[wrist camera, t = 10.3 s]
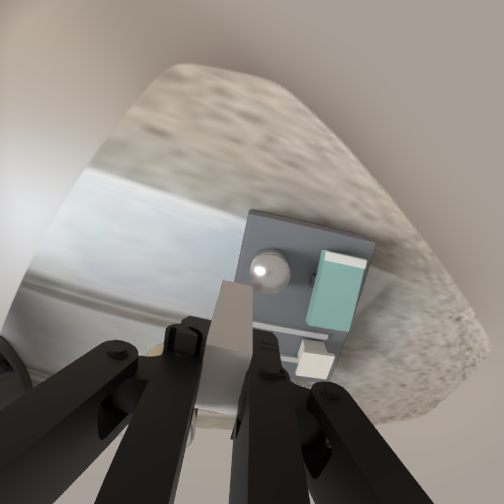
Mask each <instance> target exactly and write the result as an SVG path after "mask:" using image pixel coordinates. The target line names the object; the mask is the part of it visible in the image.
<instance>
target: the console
mask: <svg viewBox="0 0 504 504" xmlns="http://www.w3.org/2000/svg"><path fill="white" fill-rule="evenodd" d="M375 244H376V243H375V242H374V241H372V240H370V239H369V238H367V237H366V236H364V235H360V234H356V233H351V232H347V231H343V230H339V229H335V228H331V227H326V226H322V225H318V224H313V223H309V222H305V221H300V220H296V219H291V218H287V217H282V216H278V215H273V214H268V213H264V212H259V211H254V210H250V211H249V213H248V218H247V223H246V227H245V232H244V237H243V242H242V247H241V251H240V256H239V261H238V266H237V271H236V276H235V281H234V282H235V283H240V284H244V285H249V286H252V284H251V282H250V277H249V273H250V265H251V260H252V258H253V256H254V255H255V254H256V253H257V252H258V251H260V250H262V249H265V248H274V249H277V250H279V251H280V252H282V253H283V254H284V256H285V257H286V259H287V262H288V266H289V269H290V281H289V283H288V285H287V287H286V288H285V289H284V290H283V291H281V292H279V293H277V294H273V295H266V294H262V293H260V292H258V291H257V290H256V289H255V288H254V287H253V329H259V330H264V331H269V332H273V334H274V335H275V336H276V337H277V338H278V343H279V350H280V351H279V352H280V357H281V363H282V367H283V368H284V369H285V370H286V371H287V372H288V374H289V376H290V378H292V379H298V380H306V381H313V382H321V381H326V382H329V381H330V379H331V376H332V374H333V371H334V368H335V366H336V363H337V361H338V358H339V355H340V353H341V350H342V347H343V345H344V342H345V339H346V336H347V334H348V332H345V331H339V330H333V329H327V328H321V327H315V326H309V325H308V323H307V322H306V317H307V313H308V308H309V304H310V300H311V296H312V292H313V287H314V283H315V278H316V274H317V269H318V265H319V260H320V256H321V251H322V250H327V251H332V252H336V253H341V254H345V255H350V256H354V257H358V258H363V259H366V260H367V263H366V268H365V269H364V273H363V277H362V282H361V286H360V290H359V294H358V299H357V303H356V307H357V304H358V301H359V298H360V295H361V292H362V289H363V285H364V282H365V279H366V276H367V272H368V269H369V265H370V262H371V258H372V255H373V251H374V248H375ZM356 307H355V310H356ZM354 313H355V311H354ZM353 316H354V315H353ZM352 319H353V318H352ZM302 339H308V340H314V341H320V342H324V344H325V347H326V350H327V353H333V354H334V355H335V358H334V361H333V363H332V366H331V369H330V371H329V374H328V376H327V379H318V378H311V377H304V376H297V375H296V373H295V372H296V369H297V366H298V363H299V360H298V351H299V348H300V345H301V342H302Z"/></svg>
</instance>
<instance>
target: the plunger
mask: <svg viewBox="0 0 504 504" xmlns="http://www.w3.org/2000/svg"><path fill="white" fill-rule="evenodd" d="M249 277H250V282H251V284H252V286H253V287H254V288H255V289H256V290H257V291H258V292H260V293H262V294H266V295H273V294H277V293H279V292H281V291H283V290H284V289H285V288H286V287H287V285H288V283H289V281H290V269H289V266H288V262H287V259H286V257H285V256H284V254H283V253H282V252H280V251H279V250H277V249H274V248H265V249H262V250H260V251H258V252H257V253H256V254H255V255H254V256H253V258H252V260H251V265H250V273H249Z"/></svg>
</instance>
